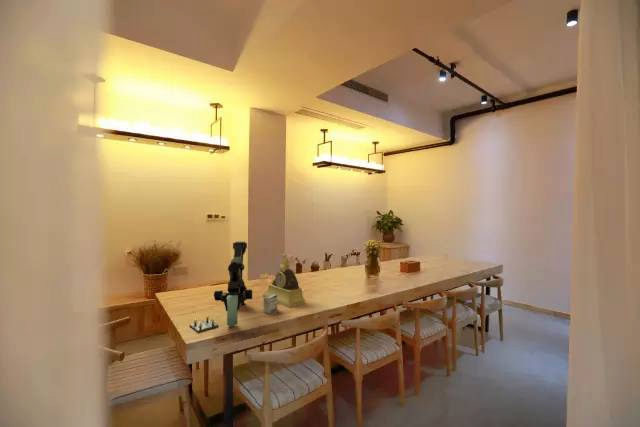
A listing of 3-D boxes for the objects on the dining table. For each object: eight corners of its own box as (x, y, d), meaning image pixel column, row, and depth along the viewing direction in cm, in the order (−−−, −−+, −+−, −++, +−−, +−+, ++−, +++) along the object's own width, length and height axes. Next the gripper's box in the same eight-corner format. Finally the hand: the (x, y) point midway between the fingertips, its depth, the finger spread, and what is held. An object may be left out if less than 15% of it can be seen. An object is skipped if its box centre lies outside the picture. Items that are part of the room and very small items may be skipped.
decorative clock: (262, 297, 187) (263, 252, 187) (278, 293, 196) (279, 251, 196) (288, 308, 167) (289, 258, 167) (304, 303, 176) (305, 256, 176)
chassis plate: (209, 320, 146) (209, 314, 146) (218, 326, 139) (218, 319, 139) (189, 326, 138) (189, 319, 138) (198, 332, 132) (198, 325, 131)
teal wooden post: (234, 321, 143) (234, 293, 142) (239, 323, 139) (239, 296, 139) (225, 323, 139) (225, 295, 139) (230, 326, 136) (230, 298, 135)
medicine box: (270, 313, 157) (270, 298, 157) (263, 312, 159) (263, 297, 159) (277, 309, 165) (277, 294, 165) (270, 308, 166) (270, 293, 166)
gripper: (214, 275, 141) (210, 304, 130) (252, 274, 144) (251, 302, 134) (217, 286, 149) (213, 314, 138) (253, 285, 152) (251, 312, 142)
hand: (232, 310), depth 138 cm, fingers closed on teal wooden post, 5 cm apart
